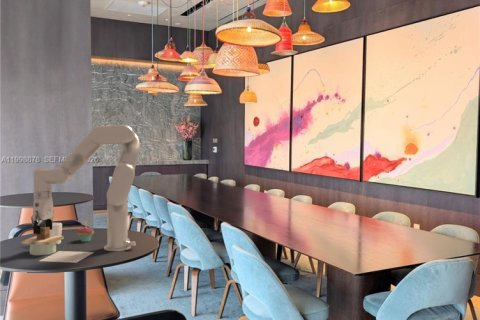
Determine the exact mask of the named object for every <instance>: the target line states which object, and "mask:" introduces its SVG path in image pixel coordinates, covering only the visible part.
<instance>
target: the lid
mask: <svg viewBox="0 0 480 320" xmlns="http://www.w3.org/2000/svg"><path fill="white" fill-rule="evenodd" d="M64 238H65V237H64V235H61V236H50V227H45V226H41V234H36V235H35V236H32V237H30V238H26V239H24V240H21V242H20V243H21V245H30V244H38V245H50V244H52V243H54V242H57V241H59V240H61V241H62V240H63V239H64Z"/></svg>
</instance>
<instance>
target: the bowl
mask: <svg viewBox="0 0 480 320" xmlns="http://www.w3.org/2000/svg"><path fill="white" fill-rule="evenodd" d="M56 252H57V244H56V242H54V243H52V244H50V245H38V244H29V255H32V256H45V255H46V256H47V255H52V254H54V253H56Z"/></svg>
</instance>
